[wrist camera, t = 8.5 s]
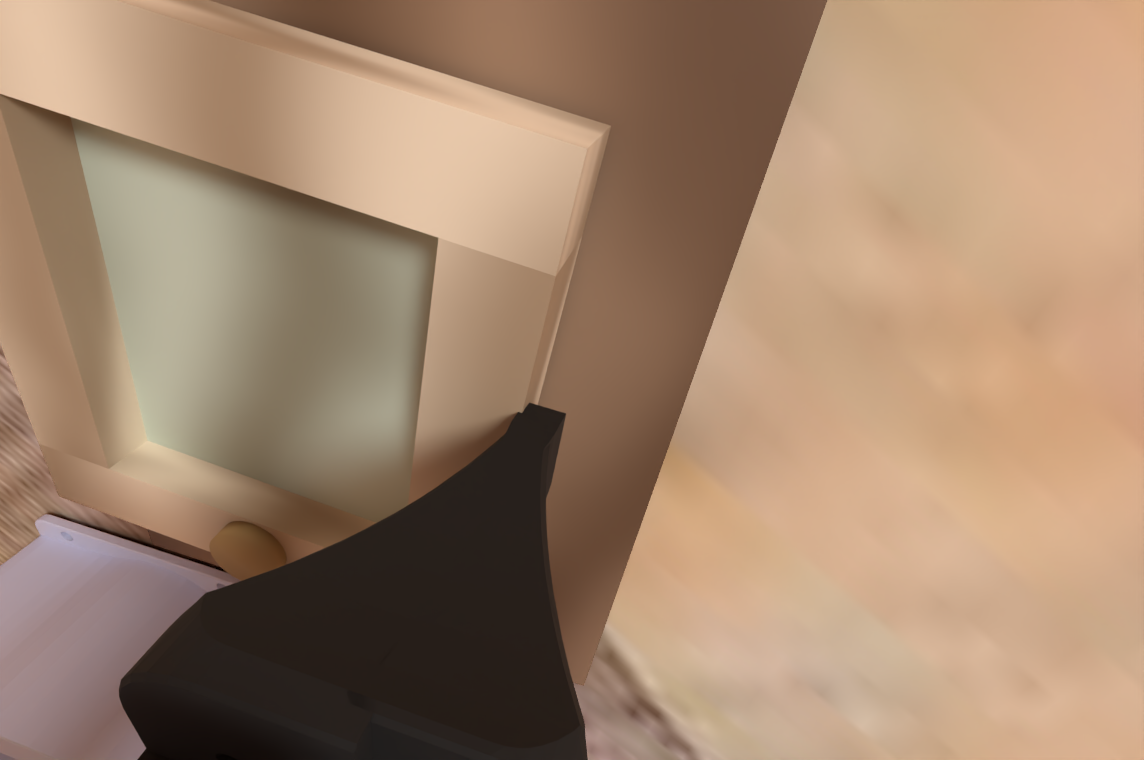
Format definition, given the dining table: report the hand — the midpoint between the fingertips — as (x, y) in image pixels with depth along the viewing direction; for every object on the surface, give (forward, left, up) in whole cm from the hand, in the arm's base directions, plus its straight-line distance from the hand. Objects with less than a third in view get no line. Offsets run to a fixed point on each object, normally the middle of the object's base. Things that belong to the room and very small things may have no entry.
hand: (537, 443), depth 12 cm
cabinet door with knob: (-6, 0, -1) cm, 7 cm away
